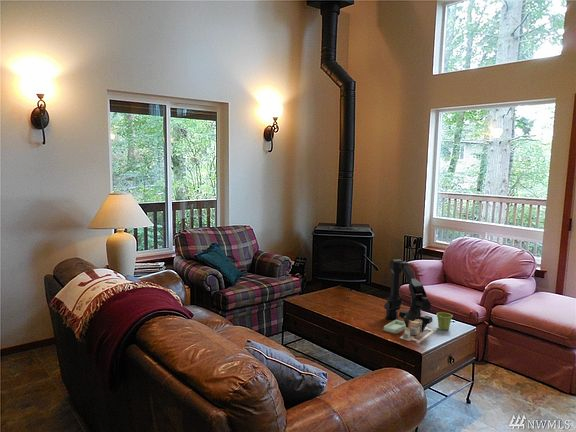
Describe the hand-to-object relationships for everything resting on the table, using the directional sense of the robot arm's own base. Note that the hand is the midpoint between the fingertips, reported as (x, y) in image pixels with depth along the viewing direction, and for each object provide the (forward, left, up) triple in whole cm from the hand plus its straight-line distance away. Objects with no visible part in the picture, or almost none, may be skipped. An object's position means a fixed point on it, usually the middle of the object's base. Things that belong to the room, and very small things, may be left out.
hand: (414, 330), depth 246 cm
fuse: (0, 0, -2) cm, 2 cm away
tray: (-12, -1, -1) cm, 12 cm away
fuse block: (+3, 0, -1) cm, 3 cm away
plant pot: (+10, +20, -2) cm, 22 cm away
